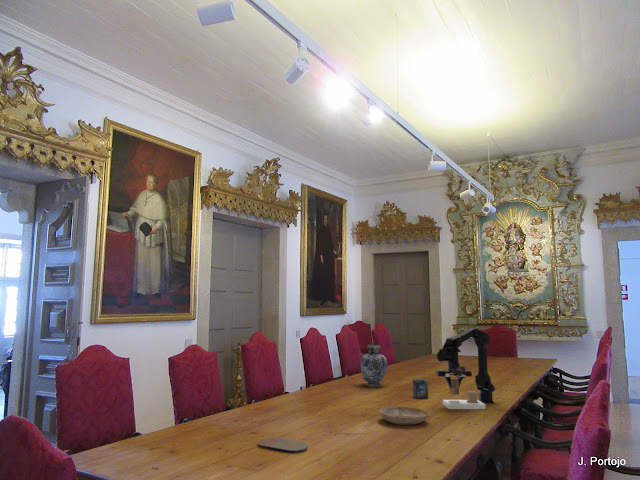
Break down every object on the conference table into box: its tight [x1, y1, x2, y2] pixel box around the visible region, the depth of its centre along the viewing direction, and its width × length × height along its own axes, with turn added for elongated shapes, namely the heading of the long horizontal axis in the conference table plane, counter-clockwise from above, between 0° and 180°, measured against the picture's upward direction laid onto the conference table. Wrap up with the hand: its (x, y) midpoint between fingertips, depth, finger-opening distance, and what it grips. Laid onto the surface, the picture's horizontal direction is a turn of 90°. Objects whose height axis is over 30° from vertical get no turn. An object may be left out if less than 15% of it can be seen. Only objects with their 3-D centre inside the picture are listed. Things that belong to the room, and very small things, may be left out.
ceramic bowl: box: [379, 406, 429, 426], centre depth 227 cm, size 23×24×5 cm
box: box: [412, 378, 429, 399], centre depth 286 cm, size 8×6×11 cm
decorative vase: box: [359, 343, 388, 388], centre depth 328 cm, size 21×19×28 cm
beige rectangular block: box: [449, 378, 460, 396], centre depth 261 cm, size 4×4×8 cm
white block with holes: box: [442, 390, 487, 410], centre depth 261 cm, size 20×12×8 cm, turn 91°
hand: (454, 389), depth 261 cm, fingers closed on beige rectangular block, 4 cm apart
